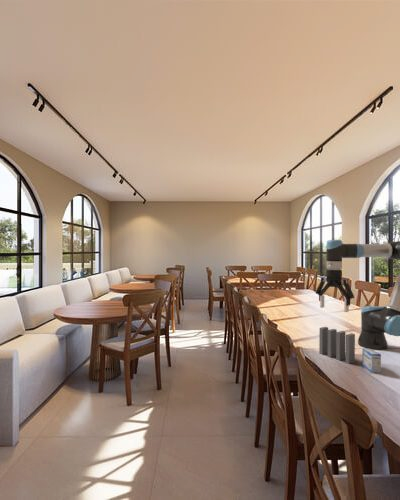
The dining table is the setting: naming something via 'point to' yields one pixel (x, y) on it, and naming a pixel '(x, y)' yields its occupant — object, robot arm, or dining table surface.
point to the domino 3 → (340, 345)
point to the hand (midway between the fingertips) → (333, 309)
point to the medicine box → (371, 360)
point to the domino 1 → (323, 340)
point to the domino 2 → (332, 342)
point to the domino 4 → (350, 348)
